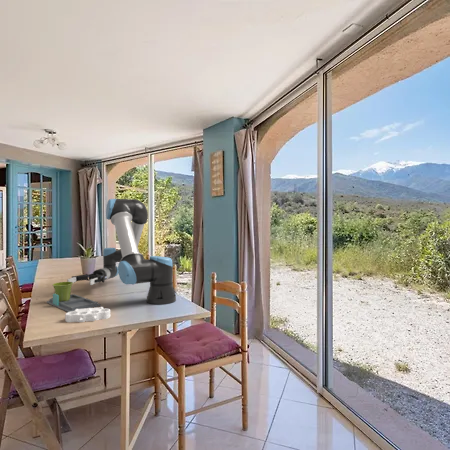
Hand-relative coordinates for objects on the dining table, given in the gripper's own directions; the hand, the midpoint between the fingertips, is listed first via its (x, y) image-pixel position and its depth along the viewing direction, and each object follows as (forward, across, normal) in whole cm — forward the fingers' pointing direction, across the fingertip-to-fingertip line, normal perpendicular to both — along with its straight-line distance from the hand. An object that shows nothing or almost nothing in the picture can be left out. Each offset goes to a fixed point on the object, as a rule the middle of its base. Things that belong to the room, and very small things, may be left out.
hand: (79, 282), depth 177 cm
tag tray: (+13, -6, -8) cm, 17 cm away
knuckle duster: (+31, -26, -9) cm, 41 cm away
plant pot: (+10, +3, -8) cm, 13 cm away
